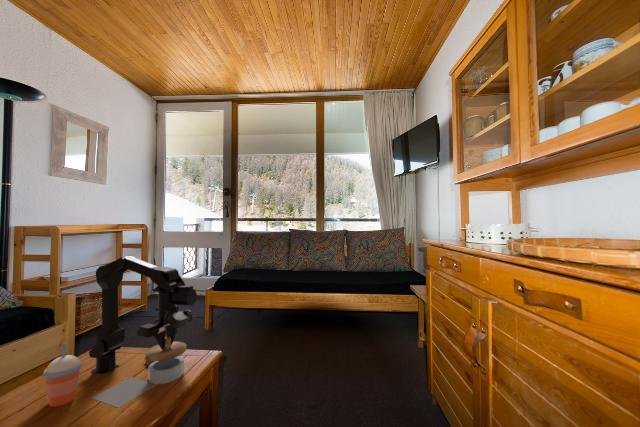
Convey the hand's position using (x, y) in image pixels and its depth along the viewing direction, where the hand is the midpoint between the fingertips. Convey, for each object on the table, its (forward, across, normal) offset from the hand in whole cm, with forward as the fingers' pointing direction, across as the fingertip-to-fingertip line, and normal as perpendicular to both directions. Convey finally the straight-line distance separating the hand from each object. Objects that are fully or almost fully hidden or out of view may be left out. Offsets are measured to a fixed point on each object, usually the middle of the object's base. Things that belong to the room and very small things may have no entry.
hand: (166, 347), depth 103 cm
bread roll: (+11, +7, +12) cm, 18 cm away
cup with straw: (+11, -22, +18) cm, 30 cm away
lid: (+2, 0, 0) cm, 2 cm away
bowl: (+10, 0, 0) cm, 10 cm away
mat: (+10, -12, +4) cm, 16 cm away
